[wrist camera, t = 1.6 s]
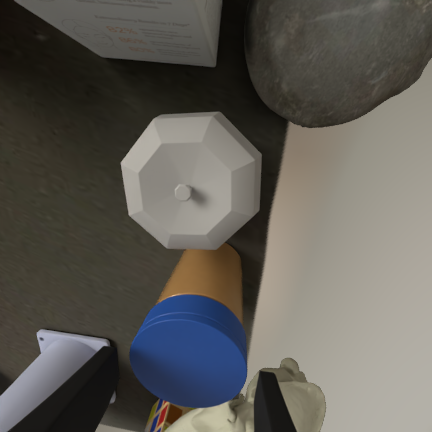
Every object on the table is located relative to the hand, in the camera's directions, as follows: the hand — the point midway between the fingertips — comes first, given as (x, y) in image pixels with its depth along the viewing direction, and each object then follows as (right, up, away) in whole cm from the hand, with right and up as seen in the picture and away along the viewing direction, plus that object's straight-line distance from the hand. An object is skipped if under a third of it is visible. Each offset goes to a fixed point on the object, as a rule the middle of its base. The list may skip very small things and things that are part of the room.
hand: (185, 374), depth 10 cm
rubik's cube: (-2, -14, +15) cm, 21 cm away
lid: (0, 0, +1) cm, 1 cm away
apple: (+1, +10, +6) cm, 12 cm away
